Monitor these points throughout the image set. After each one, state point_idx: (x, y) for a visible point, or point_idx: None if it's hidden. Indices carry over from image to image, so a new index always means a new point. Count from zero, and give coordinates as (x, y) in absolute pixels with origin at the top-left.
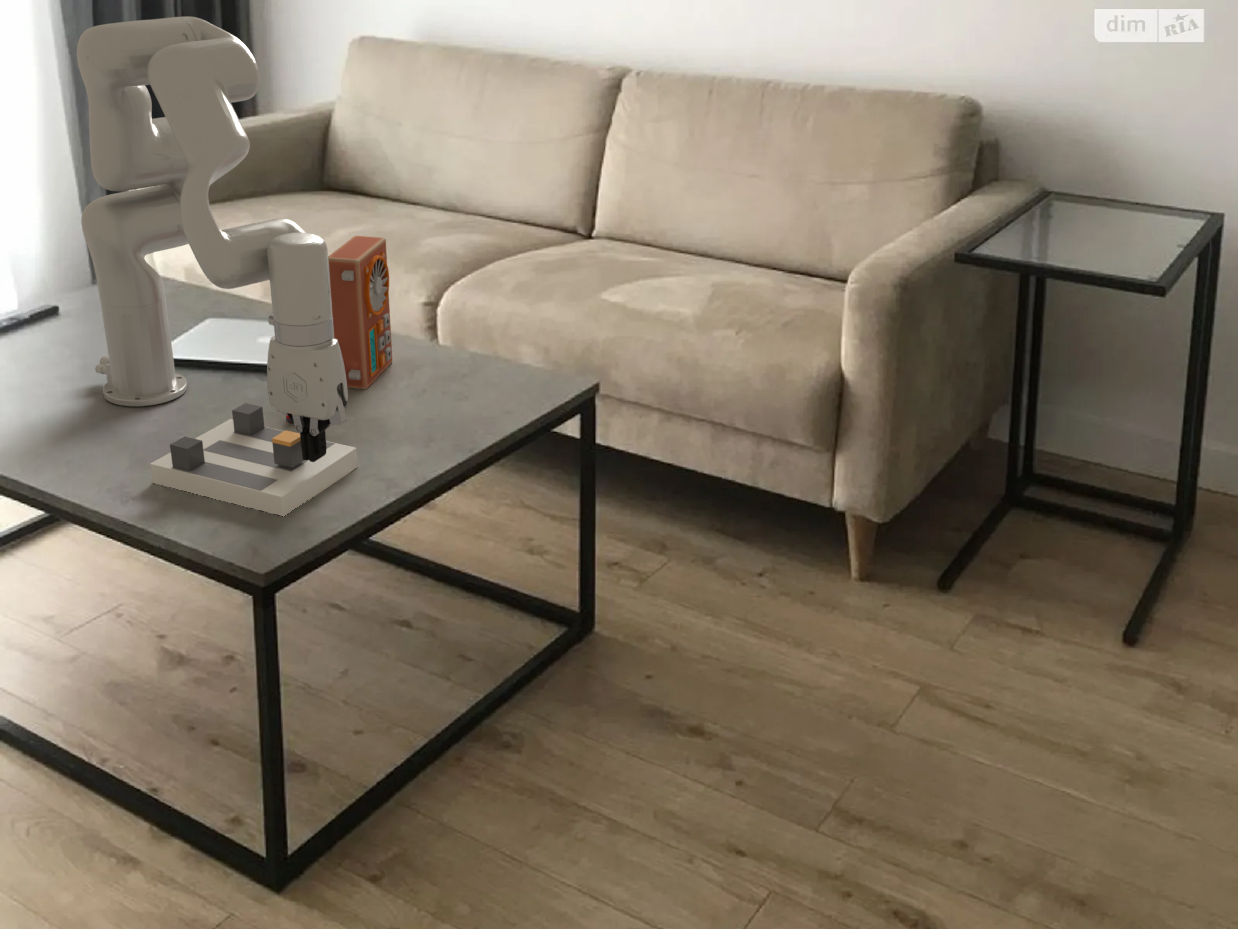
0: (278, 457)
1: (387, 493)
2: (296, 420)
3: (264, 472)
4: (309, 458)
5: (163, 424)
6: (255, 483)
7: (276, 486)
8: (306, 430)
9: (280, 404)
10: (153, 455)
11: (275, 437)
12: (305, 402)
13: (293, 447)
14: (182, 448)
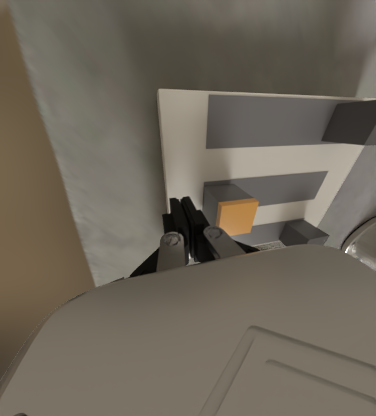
0: (232, 188)
1: (96, 225)
2: (228, 246)
3: (236, 159)
4: (175, 199)
5: (351, 210)
6: (231, 117)
7: (194, 126)
8: (197, 237)
9: (312, 267)
10: (356, 163)
11: (255, 207)
12: (187, 366)
13: (215, 206)
14: None
